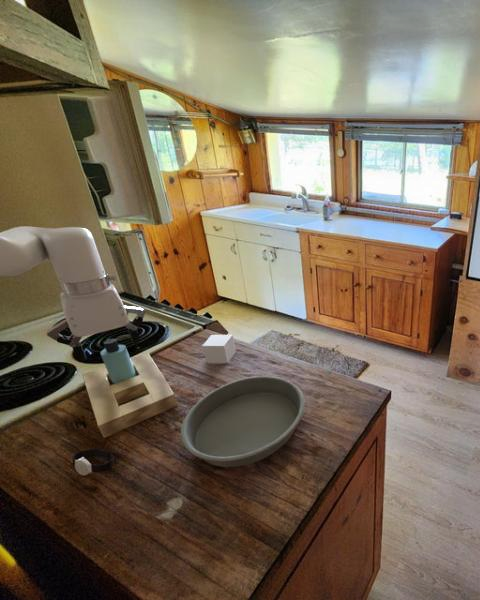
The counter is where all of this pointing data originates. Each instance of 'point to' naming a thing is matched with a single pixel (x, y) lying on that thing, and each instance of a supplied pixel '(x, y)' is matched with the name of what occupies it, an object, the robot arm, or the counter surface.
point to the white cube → (219, 348)
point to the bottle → (117, 361)
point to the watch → (85, 467)
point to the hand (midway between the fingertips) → (110, 350)
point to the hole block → (128, 396)
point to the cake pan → (243, 421)
